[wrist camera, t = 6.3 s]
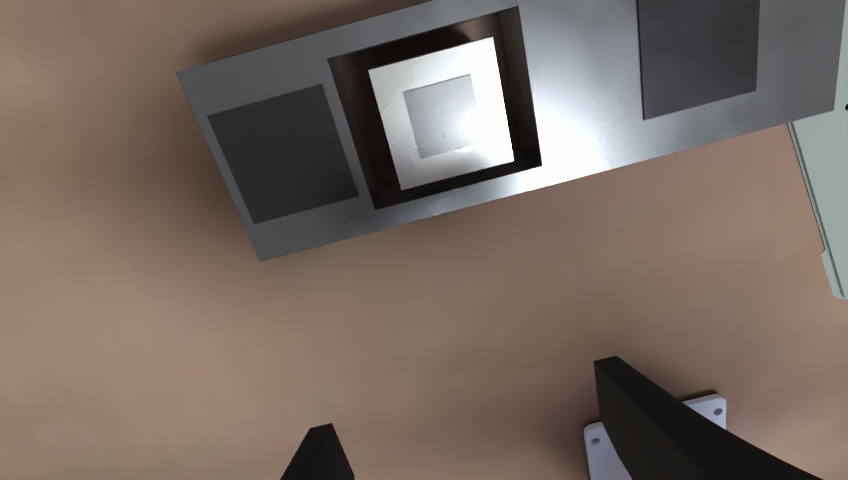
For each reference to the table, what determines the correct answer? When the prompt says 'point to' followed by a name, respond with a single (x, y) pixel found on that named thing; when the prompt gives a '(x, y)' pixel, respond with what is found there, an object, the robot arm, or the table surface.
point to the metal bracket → (829, 173)
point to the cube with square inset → (443, 112)
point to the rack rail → (532, 99)
